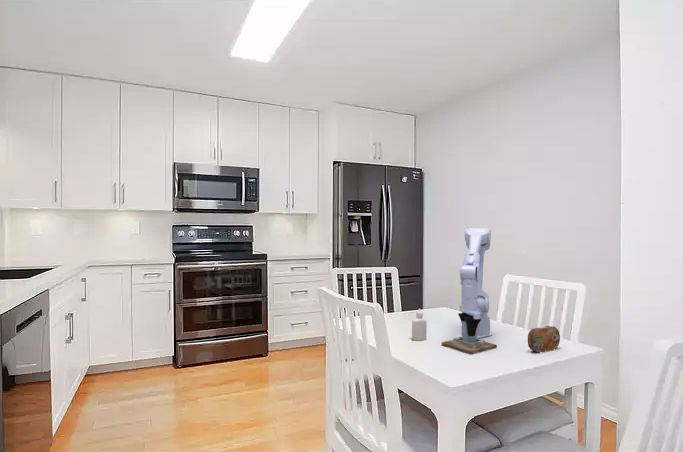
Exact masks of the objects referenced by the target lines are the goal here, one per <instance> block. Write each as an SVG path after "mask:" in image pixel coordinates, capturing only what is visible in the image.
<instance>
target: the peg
mask: <svg viewBox="0 0 683 452" xmlns="http://www.w3.org/2000/svg"><path fill="white" fill-rule="evenodd" d="M461 337H462V340H463V341H466V342H469V343H472V342H476V341H477V329H476V333H475V336H468V330H467V324H466V321H462V323H461Z"/></svg>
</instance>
